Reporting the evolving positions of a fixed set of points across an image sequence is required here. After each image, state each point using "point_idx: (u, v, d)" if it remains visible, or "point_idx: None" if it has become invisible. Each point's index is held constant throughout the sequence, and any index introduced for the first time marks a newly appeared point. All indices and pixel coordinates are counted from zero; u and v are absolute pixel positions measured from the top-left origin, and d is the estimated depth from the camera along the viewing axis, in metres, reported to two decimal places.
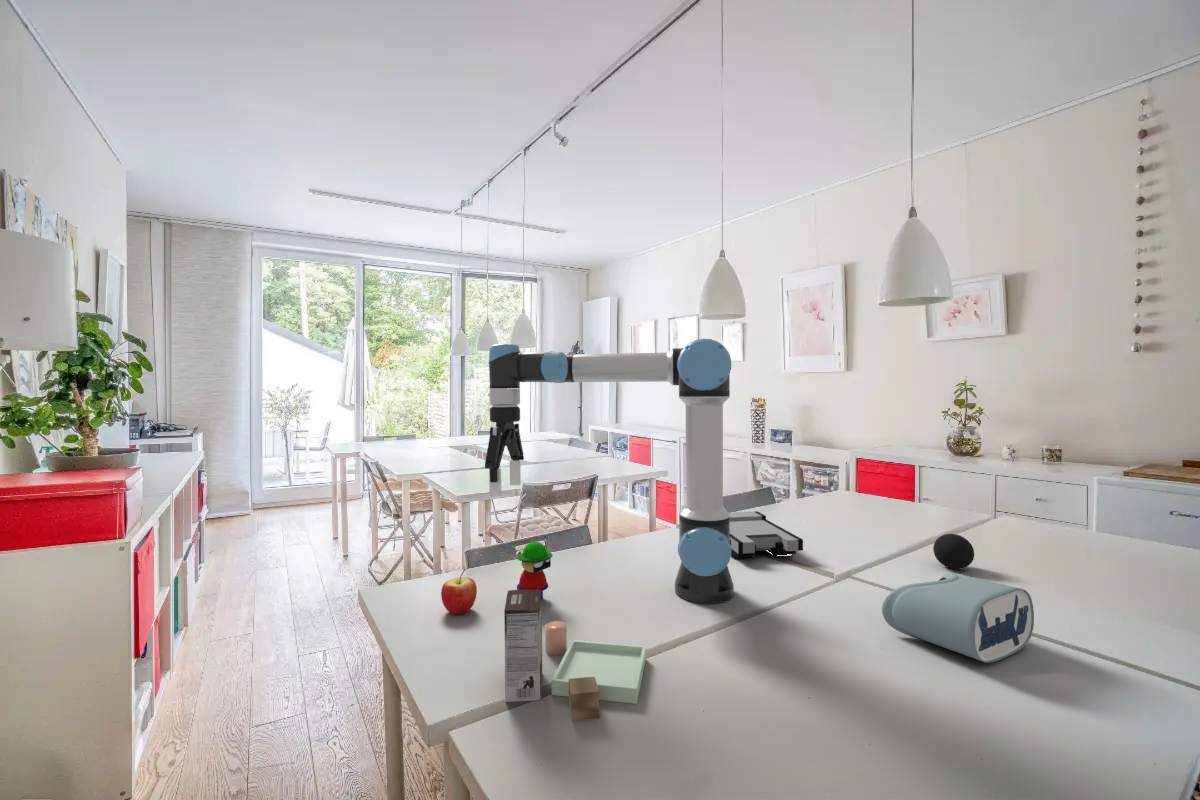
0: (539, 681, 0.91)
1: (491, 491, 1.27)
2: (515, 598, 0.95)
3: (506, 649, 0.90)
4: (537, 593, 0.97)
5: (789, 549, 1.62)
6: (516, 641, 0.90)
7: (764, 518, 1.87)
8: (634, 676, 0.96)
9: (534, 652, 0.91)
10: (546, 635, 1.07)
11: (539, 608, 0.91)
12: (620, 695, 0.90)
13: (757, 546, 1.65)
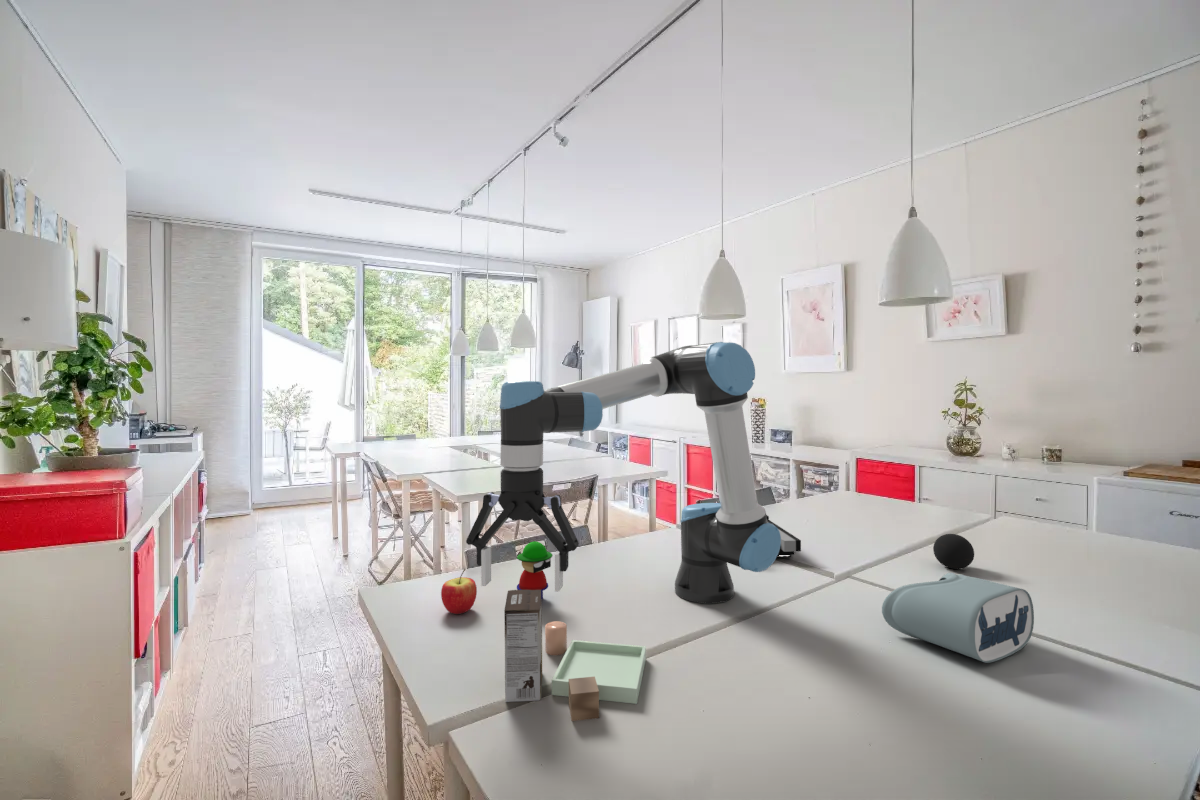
0: (539, 681, 0.91)
1: None
2: (515, 598, 0.95)
3: (506, 649, 0.90)
4: (537, 593, 0.97)
5: (786, 550, 1.61)
6: (516, 641, 0.90)
7: (767, 518, 1.86)
8: (634, 676, 0.96)
9: (534, 652, 0.91)
10: (546, 635, 1.07)
11: (539, 608, 0.91)
12: (620, 695, 0.90)
13: None
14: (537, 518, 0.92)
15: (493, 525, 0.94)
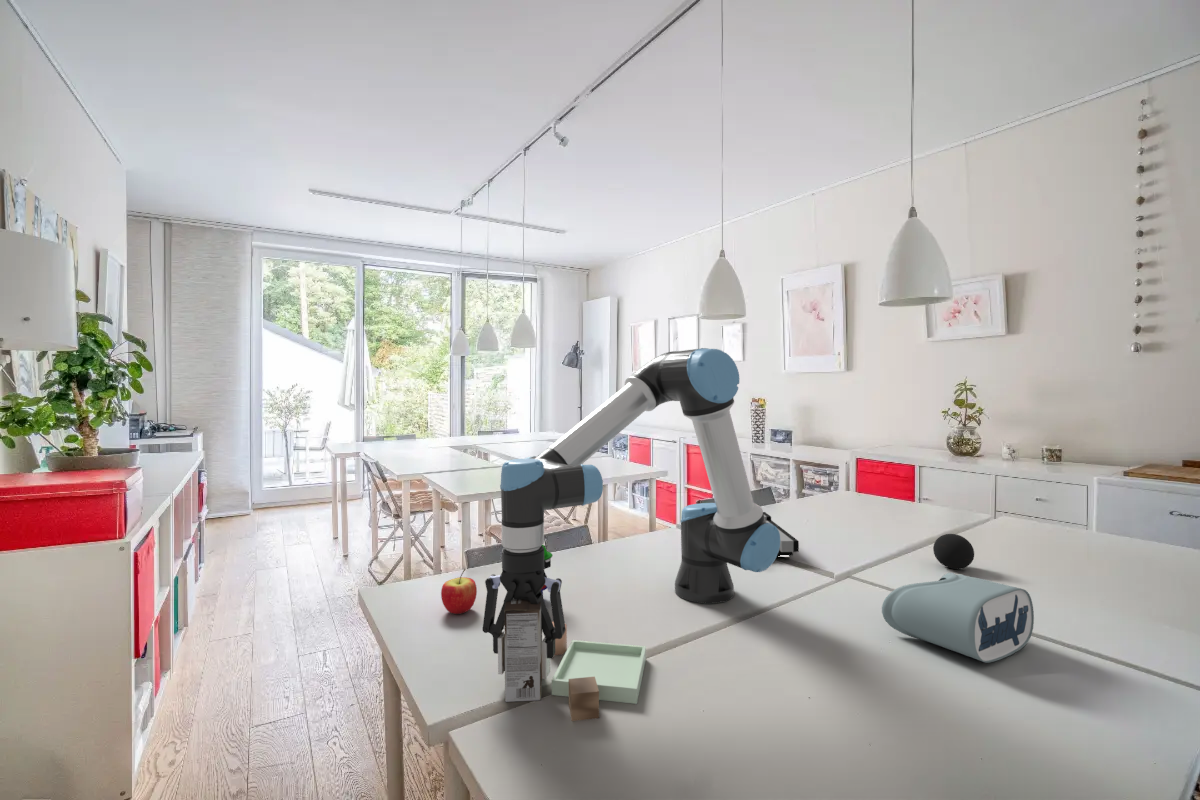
0: (539, 681, 0.91)
1: None
2: None
3: (506, 649, 0.90)
4: None
5: (784, 550, 1.61)
6: (516, 641, 0.90)
7: (769, 519, 1.86)
8: (634, 676, 0.96)
9: (534, 651, 0.91)
10: None
11: (539, 608, 0.91)
12: (620, 695, 0.90)
13: None
14: (534, 601, 0.93)
15: (502, 609, 0.94)
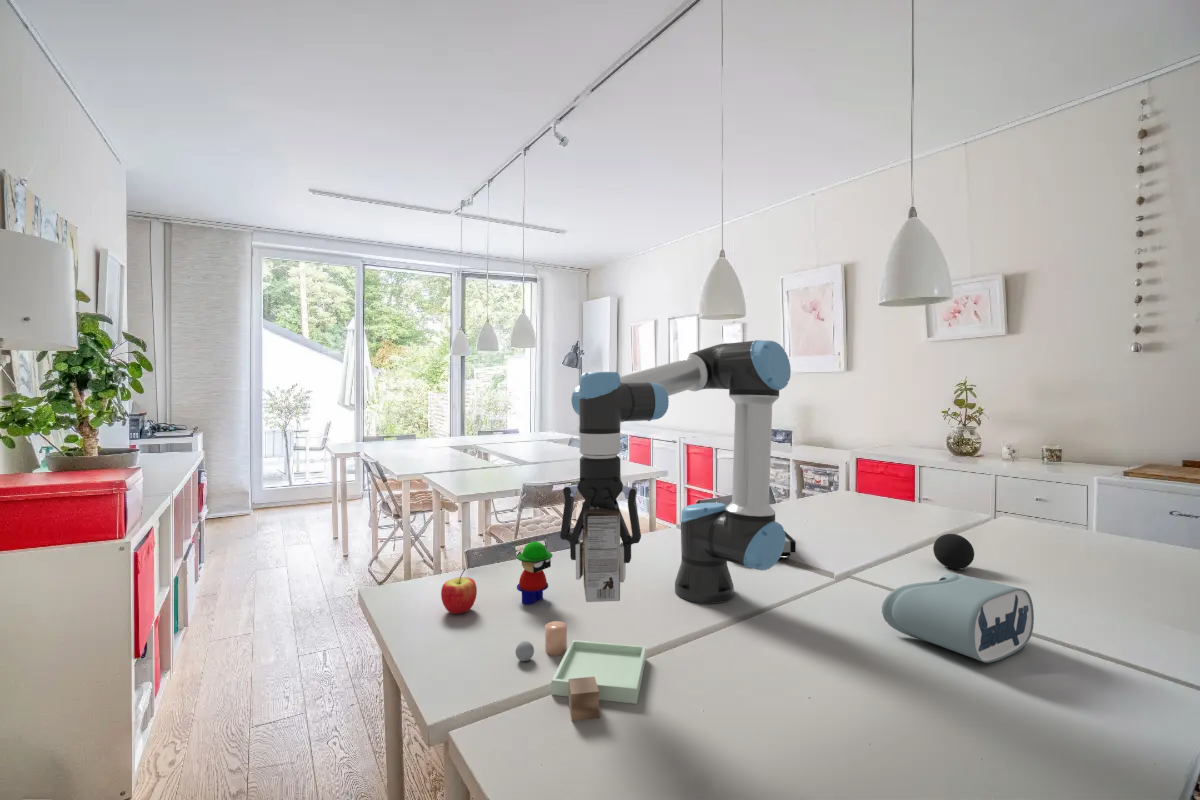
0: (618, 582, 0.94)
1: None
2: None
3: (587, 550, 0.93)
4: None
5: None
6: (597, 543, 0.93)
7: None
8: (634, 676, 0.96)
9: (614, 553, 0.94)
10: (546, 635, 1.07)
11: (618, 512, 0.94)
12: (620, 695, 0.90)
13: None
14: (612, 507, 0.96)
15: (580, 516, 0.97)
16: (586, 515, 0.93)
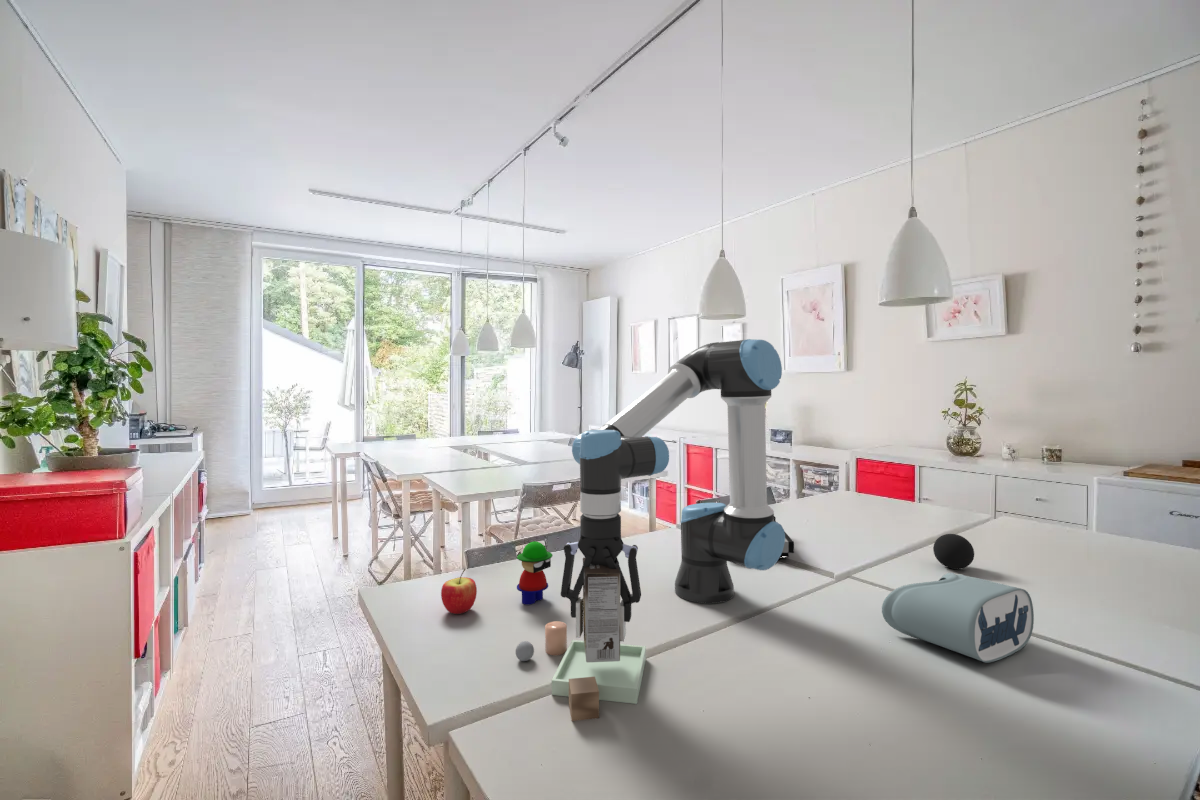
0: (618, 642, 0.94)
1: None
2: None
3: (587, 611, 0.94)
4: None
5: None
6: (597, 604, 0.94)
7: None
8: (634, 676, 0.96)
9: (614, 614, 0.94)
10: (546, 635, 1.07)
11: (619, 572, 0.94)
12: (620, 695, 0.90)
13: None
14: (613, 566, 0.96)
15: (580, 575, 0.98)
16: (586, 576, 0.93)
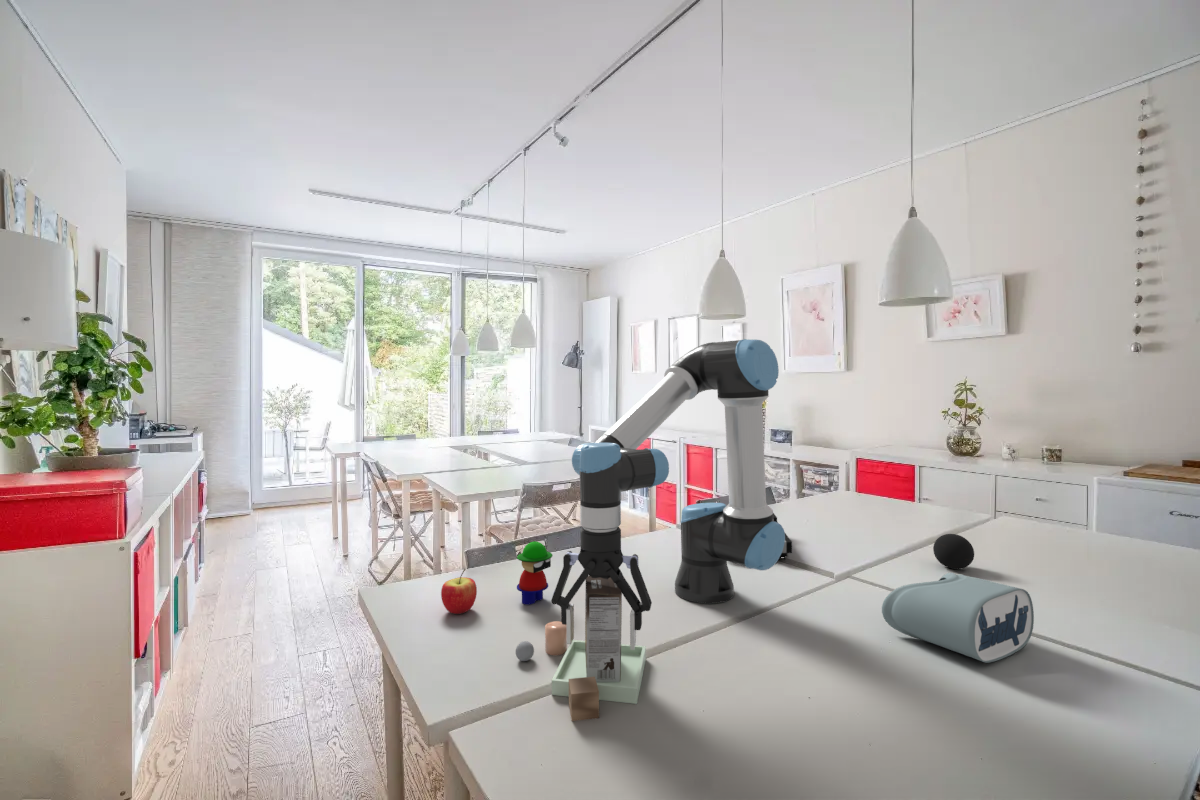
0: (619, 663, 0.94)
1: None
2: (595, 583, 0.98)
3: (588, 631, 0.94)
4: None
5: None
6: (598, 624, 0.94)
7: (775, 520, 1.84)
8: (634, 676, 0.96)
9: (615, 635, 0.94)
10: (546, 635, 1.07)
11: (620, 593, 0.94)
12: (620, 695, 0.90)
13: None
14: (616, 577, 0.96)
15: (576, 584, 0.98)
16: (588, 596, 0.94)
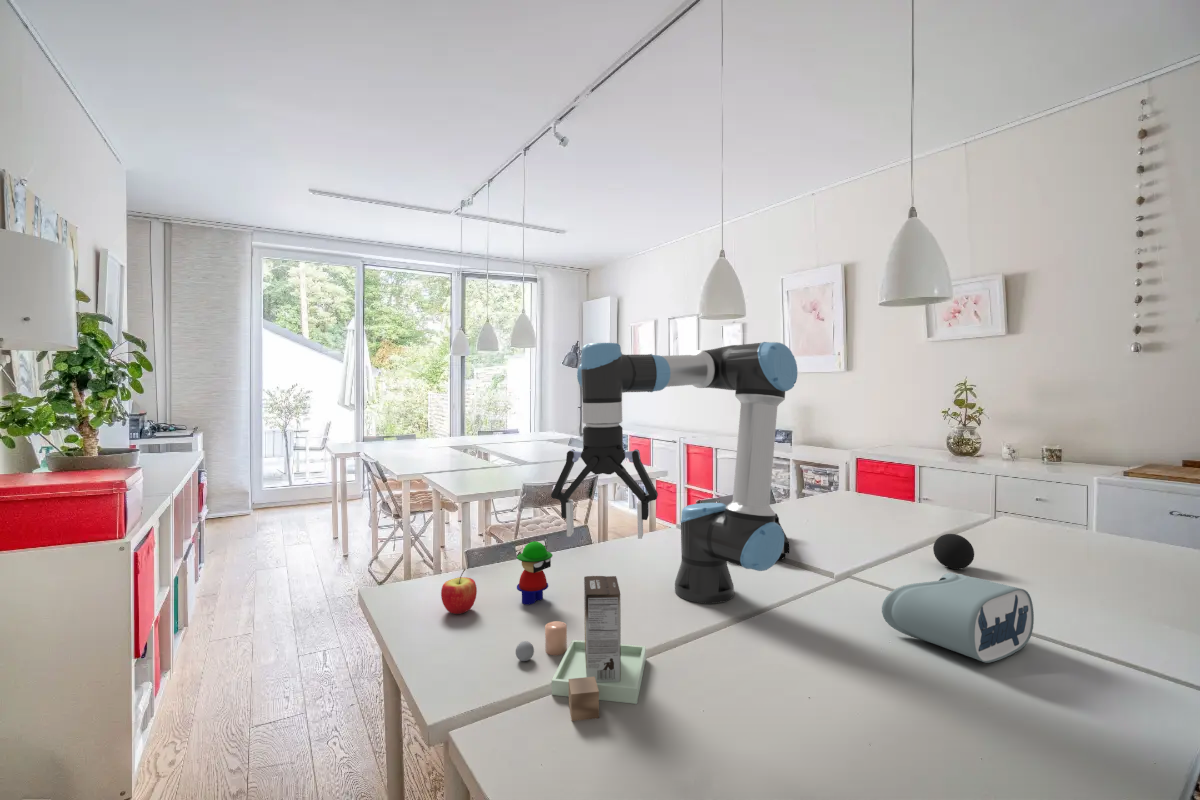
0: (619, 663, 0.94)
1: None
2: (593, 583, 0.98)
3: (587, 632, 0.94)
4: (613, 579, 1.01)
5: None
6: (597, 624, 0.94)
7: (777, 520, 1.84)
8: (634, 676, 0.96)
9: (614, 635, 0.94)
10: (546, 635, 1.07)
11: (619, 593, 0.94)
12: (620, 695, 0.90)
13: None
14: (620, 471, 0.98)
15: (577, 479, 1.00)
16: (587, 596, 0.94)
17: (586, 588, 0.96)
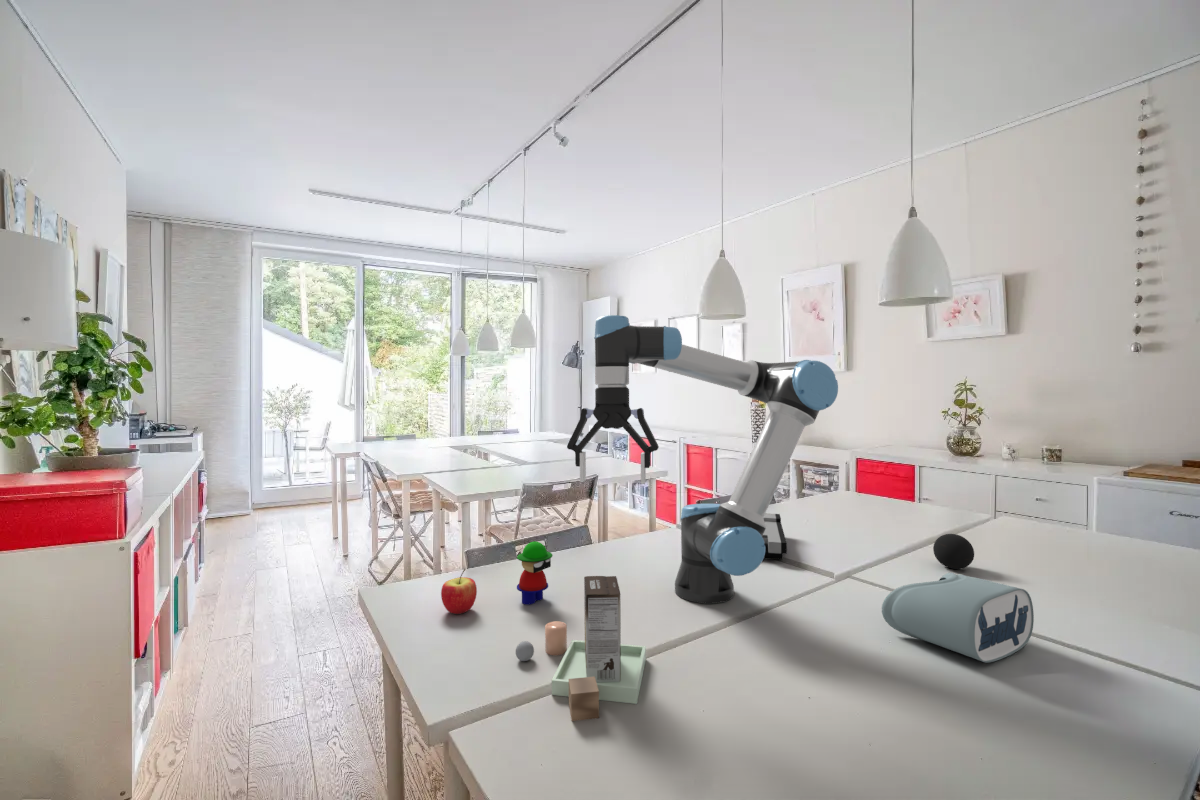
0: (619, 663, 0.94)
1: None
2: (593, 583, 0.98)
3: (588, 632, 0.94)
4: (613, 579, 1.01)
5: (771, 551, 1.60)
6: (597, 624, 0.94)
7: (779, 521, 1.83)
8: (634, 676, 0.96)
9: (614, 635, 0.94)
10: (546, 635, 1.07)
11: (619, 593, 0.94)
12: (620, 695, 0.90)
13: None
14: (626, 425, 1.15)
15: (589, 433, 1.17)
16: (587, 596, 0.94)
17: (586, 588, 0.96)
